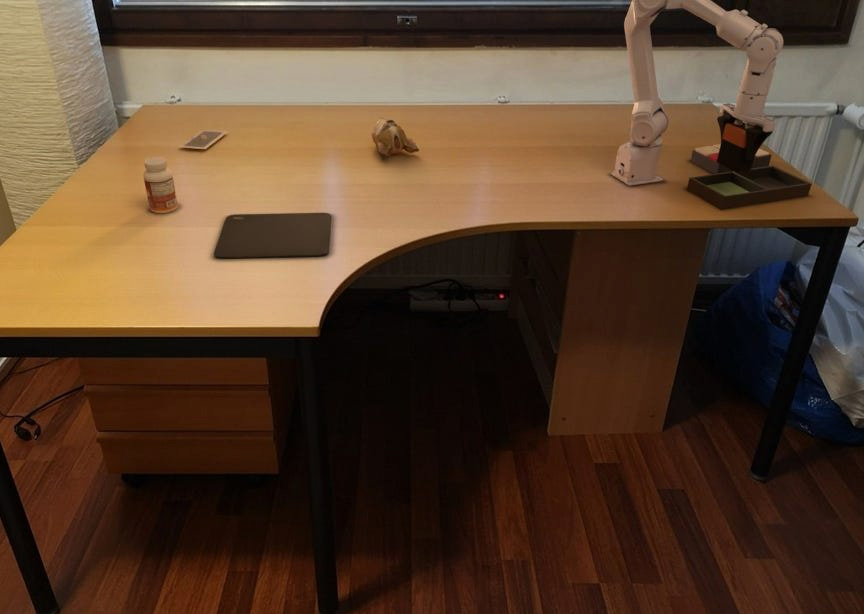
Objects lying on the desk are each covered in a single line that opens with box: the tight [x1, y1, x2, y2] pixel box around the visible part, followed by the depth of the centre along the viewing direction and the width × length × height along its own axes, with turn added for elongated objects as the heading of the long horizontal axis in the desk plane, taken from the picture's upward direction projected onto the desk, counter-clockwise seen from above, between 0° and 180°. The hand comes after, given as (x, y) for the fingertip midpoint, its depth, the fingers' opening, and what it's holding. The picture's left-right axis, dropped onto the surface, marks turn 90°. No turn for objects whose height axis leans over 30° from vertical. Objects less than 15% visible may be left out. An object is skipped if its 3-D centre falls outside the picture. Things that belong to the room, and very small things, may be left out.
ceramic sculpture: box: [371, 116, 420, 158], centre depth 194 cm, size 11×9×15 cm
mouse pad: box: [213, 212, 332, 259], centre depth 155 cm, size 23×20×1 cm
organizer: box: [686, 165, 813, 211], centre depth 171 cm, size 24×12×3 cm, turn 108°
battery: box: [717, 120, 755, 172], centre depth 164 cm, size 4×7×10 cm, turn 19°
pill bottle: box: [143, 156, 178, 214], centre depth 164 cm, size 6×6×11 cm
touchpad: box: [178, 128, 229, 150], centre depth 203 cm, size 8×15×2 cm, turn 166°
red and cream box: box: [690, 143, 772, 174], centre depth 186 cm, size 11×4×15 cm
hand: (736, 154), depth 165 cm, fingers closed on battery, 7 cm apart
